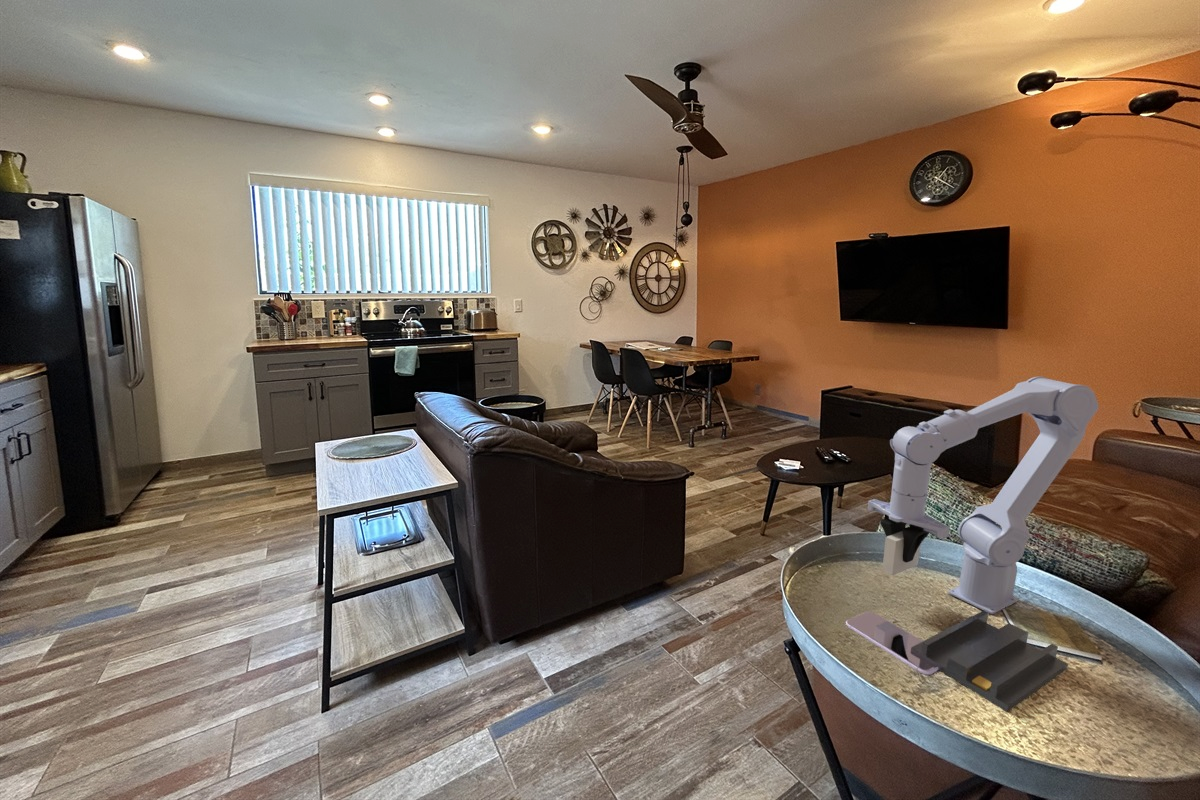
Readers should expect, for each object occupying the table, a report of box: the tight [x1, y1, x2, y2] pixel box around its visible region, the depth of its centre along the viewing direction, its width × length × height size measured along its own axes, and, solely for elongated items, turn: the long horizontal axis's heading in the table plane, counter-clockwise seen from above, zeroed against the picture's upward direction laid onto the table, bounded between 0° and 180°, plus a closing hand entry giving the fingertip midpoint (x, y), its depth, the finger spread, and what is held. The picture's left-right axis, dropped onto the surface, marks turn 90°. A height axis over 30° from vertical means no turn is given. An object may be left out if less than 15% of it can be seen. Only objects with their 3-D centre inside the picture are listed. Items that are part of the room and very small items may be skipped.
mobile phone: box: [845, 611, 939, 676], centre depth 89 cm, size 8×1×15 cm
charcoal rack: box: [911, 610, 1069, 713], centre depth 84 cm, size 18×14×3 cm
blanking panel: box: [881, 531, 922, 576], centre depth 99 cm, size 8×2×7 cm, turn 117°
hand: (901, 557), depth 100 cm, fingers closed on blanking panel, 2 cm apart
